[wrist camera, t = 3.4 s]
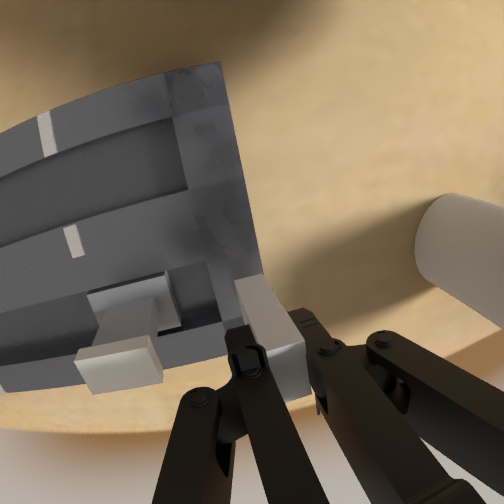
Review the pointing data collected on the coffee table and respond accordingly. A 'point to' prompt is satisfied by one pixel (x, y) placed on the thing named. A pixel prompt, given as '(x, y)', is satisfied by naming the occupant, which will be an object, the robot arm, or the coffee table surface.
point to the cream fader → (128, 333)
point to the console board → (121, 221)
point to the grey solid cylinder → (464, 252)
